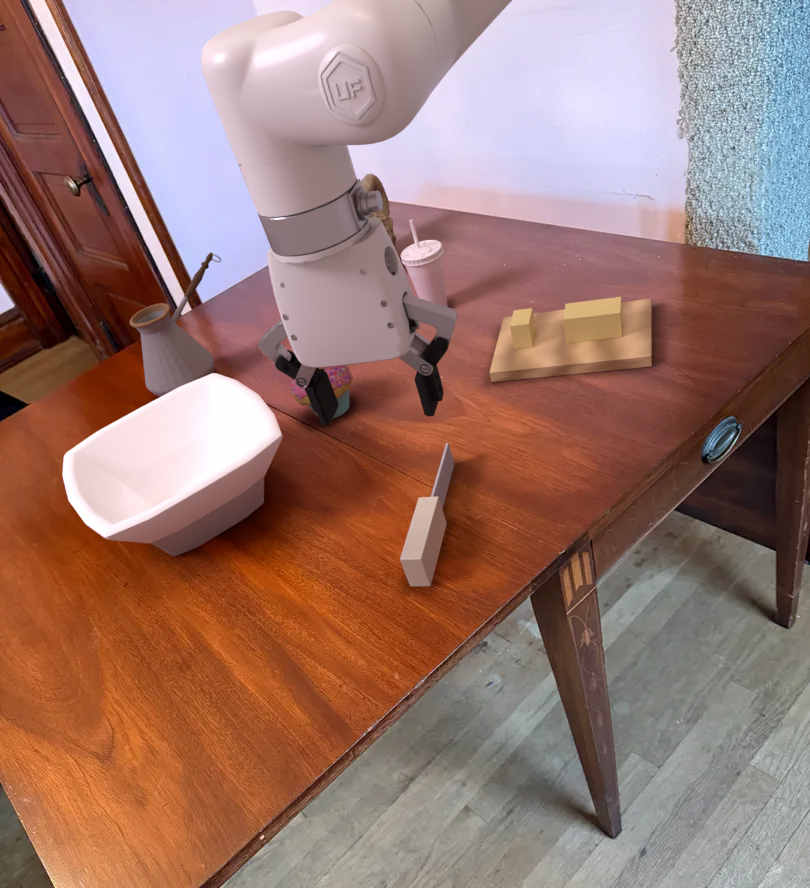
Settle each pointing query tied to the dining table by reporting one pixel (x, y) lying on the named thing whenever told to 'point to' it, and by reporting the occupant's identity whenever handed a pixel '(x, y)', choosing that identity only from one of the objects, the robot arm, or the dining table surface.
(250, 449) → the bowl
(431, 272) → the smoothie
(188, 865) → the dining table surface
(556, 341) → the board
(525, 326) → the butter slice
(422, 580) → the knife
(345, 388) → the cupcake
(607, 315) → the butter
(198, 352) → the coffee pot
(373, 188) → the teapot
